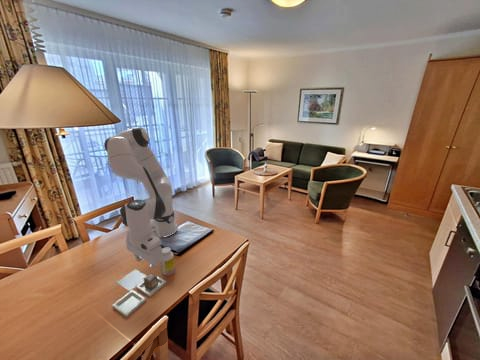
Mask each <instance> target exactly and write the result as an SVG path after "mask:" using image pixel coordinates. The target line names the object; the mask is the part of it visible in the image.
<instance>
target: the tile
mask: <svg viewBox="0 0 480 360" xmlns="http://www.w3.org/2000/svg"><path fill="white" fill-rule="evenodd" d="M146 276H147V275H146V274H145V273H143V272H141V271H139V270H137V269H136V268H135V269H134V270H132V271H131V272H130V273H128V274H126V275H125V276H124V277H122V278H121V279H119V280H118V281H117V282H115V283H117V285H119V286H120V287H123V288H124V290H127V291H129V292H130V291H131V290H134V288H137V287H136V286H138V285H139V284H140V283H142V282H143V281H144V278H145V277H146Z"/></svg>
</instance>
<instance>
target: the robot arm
mask: <svg viewBox="0 0 480 360" xmlns="http://www.w3.org/2000/svg"><path fill="white" fill-rule="evenodd" d="M149 144H150V136H149V134H148V132H147V131H146V129H144V127H141V126H135V127H134V126H132V128H129V129H125V130H122V131H121V132H117V133H116V134H114V135H112V136H110V137H108V138H106V139H105V141H104V144H103V146H104V149H105V151H106V153H107V159H108V164H109V167H110V170H111V172H112V173H113V174H114V175H115V176H117V177H120V178H122V179H127V180H132V181H137V182H139V183H141V184H142V185H143V187H144V189H145V192H146V193H147V196H148V197H149V198H146V199H132V200H130V201H129V202H127V203H125V204H123V205H122V206H121V207H120V209H119V213H120V216H121V223H122V224H123V225H124V226H126V227H128V229H129V231H128V232H127V233H126V238H125V242H126V243H125V244H126V249H127V251H128V252H130V253H132V254H133V256H134V259H135V261H136V262H139V263H140V262H141V261H142V260H145V261H146V262H148V263H150V265H149V269H150V270H155V269H156V266H157V265H159V264H160V262H161V261H162V260H163V253H162V249H163V248H162V246H161V244H162V240H161V239H162V238H161V237H164V236H167V235H170V234H172V233H174V232H175V231H176V230H177V229H178V223H177V222H176V217H175V211H174V208H173V207H174V206H173V191H172V190H173V188H172V184H171V181H170V179H169V178H168V176H167V174H166V172H165V171H164V169H163V168H162V166H161V164H160V162H159V161H158V158H157V157H156V156H155V153H154V152H153V150H152V149H151V147H150V145H149Z"/></svg>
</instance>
